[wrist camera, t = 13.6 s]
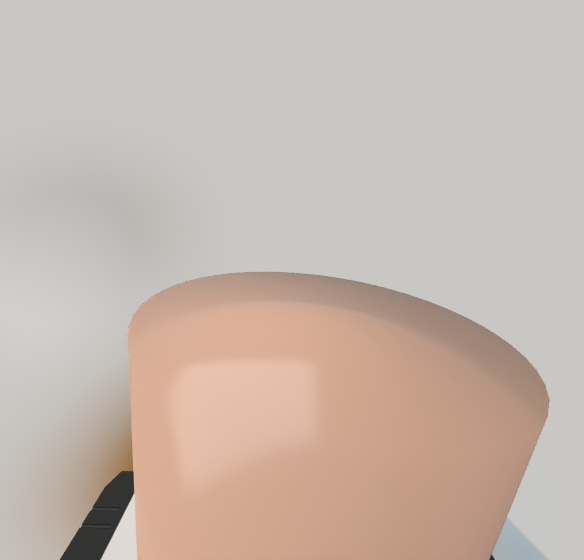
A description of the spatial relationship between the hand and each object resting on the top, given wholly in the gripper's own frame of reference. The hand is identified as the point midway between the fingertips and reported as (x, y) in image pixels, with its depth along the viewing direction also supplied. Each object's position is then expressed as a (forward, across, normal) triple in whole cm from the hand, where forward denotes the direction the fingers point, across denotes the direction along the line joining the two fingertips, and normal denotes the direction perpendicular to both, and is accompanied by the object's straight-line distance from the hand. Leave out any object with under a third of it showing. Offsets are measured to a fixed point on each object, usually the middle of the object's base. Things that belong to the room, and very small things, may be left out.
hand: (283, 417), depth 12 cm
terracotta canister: (-5, 0, -9) cm, 10 cm away
